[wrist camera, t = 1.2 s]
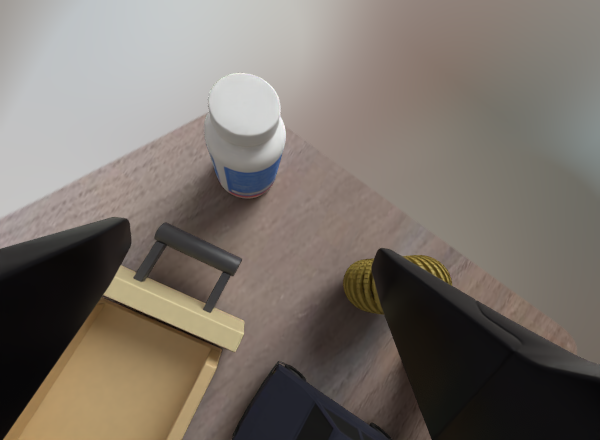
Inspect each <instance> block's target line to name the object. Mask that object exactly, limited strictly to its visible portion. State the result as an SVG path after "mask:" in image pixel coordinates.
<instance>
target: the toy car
mask: <svg viewBox="0 0 600 440" xmlns="http://www.w3.org/2000/svg"><path fill="white" fill-rule="evenodd" d="M279 362H280V361H278V362H277V364H278V363H279ZM280 363H282V364H285V363H283V362H280ZM277 364H276V365H275V366H274V367H273V369H272V370H271V372H270V373H269V375H270V376H269V375H268V376H267V377H266V379H265V380H264V382H263V383H262V385H261V387H262V388H261V387H260V388H259V390H260V391H259V390H258V391H257V393H256V395H255V396H254V398H253V399H252V401H251V403H250V404H249V406H248V408H247V409H246V411H245V413H244V414H243V416H242V418H241V420H240V422H239V424H238V425H237V427H236V429H235V431H234V433H233V438H232V440H392V439H391V437H390V436H389V435H388V434H387V433H386V432H384V431H383V430H382V429H381V428H380V427H378V426H377V425H376V424H374V423H370V425H368V424H366V423H365V422H364V421H362V420H361V419H359V418H358V417H356V416H355V415H353V414H352V413H351V412H349V411H348V410H346V409H345V408H343V407H342V406H340V405H339V404H338V403H336V402H335V401H333V400H332V399H330V398H329V397H327V396H326V395H324V394H323V393H321V392H320V391H318V390H317V389H316V388H314V387H313V386H312V385H310V384H309V383H307V382H306V379H305V377H304V376H303V375H302V374H301V373H300V372H299V371H297V370H296V369H295V368H293V367H292V366H290V365H287V364H285V366H282V365H281V364H278V365H277ZM275 367H276V368H275ZM274 368H275V369H274ZM273 370H274V371H273ZM272 371H273V372H272ZM267 378H268V379H267ZM265 381H266V382H265ZM263 384H264V385H263Z"/></svg>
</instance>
